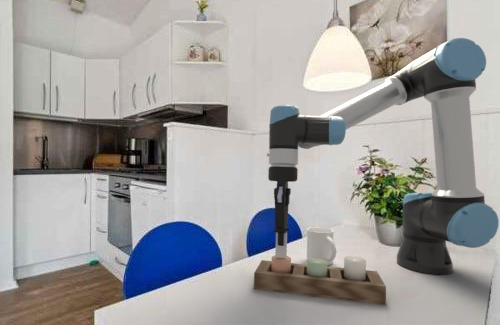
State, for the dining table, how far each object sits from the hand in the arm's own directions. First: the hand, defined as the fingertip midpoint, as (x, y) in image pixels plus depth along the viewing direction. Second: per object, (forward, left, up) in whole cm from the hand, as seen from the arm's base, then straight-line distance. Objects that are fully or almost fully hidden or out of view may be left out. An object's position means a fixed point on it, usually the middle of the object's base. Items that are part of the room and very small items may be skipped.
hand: (281, 257), depth 74 cm
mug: (-11, -20, -7) cm, 24 cm away
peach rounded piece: (0, 0, -5) cm, 5 cm away
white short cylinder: (-18, 0, -3) cm, 18 cm away
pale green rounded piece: (-9, 0, -5) cm, 10 cm away
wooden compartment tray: (-9, 0, -7) cm, 11 cm away
